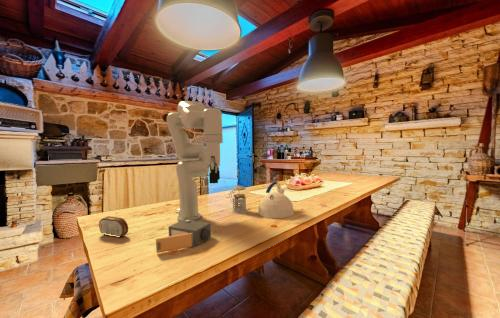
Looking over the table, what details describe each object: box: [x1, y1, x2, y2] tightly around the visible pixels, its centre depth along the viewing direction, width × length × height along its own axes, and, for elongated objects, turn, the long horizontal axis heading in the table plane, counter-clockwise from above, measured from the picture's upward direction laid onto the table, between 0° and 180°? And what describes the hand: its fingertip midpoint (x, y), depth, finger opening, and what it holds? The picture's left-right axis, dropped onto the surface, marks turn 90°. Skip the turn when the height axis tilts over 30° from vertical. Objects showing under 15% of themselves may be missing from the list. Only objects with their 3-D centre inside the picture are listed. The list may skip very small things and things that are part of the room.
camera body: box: [168, 219, 212, 247], centre depth 88 cm, size 15×10×7 cm, turn 66°
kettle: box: [257, 181, 295, 220], centre depth 120 cm, size 20×21×18 cm
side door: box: [155, 233, 194, 254], centre depth 78 cm, size 13×1×5 cm, turn 111°
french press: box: [228, 169, 249, 215], centre depth 125 cm, size 10×12×25 cm
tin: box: [98, 216, 129, 237], centre depth 94 cm, size 15×3×8 cm, turn 71°
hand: (215, 181), depth 87 cm, fingers open, 9 cm apart
